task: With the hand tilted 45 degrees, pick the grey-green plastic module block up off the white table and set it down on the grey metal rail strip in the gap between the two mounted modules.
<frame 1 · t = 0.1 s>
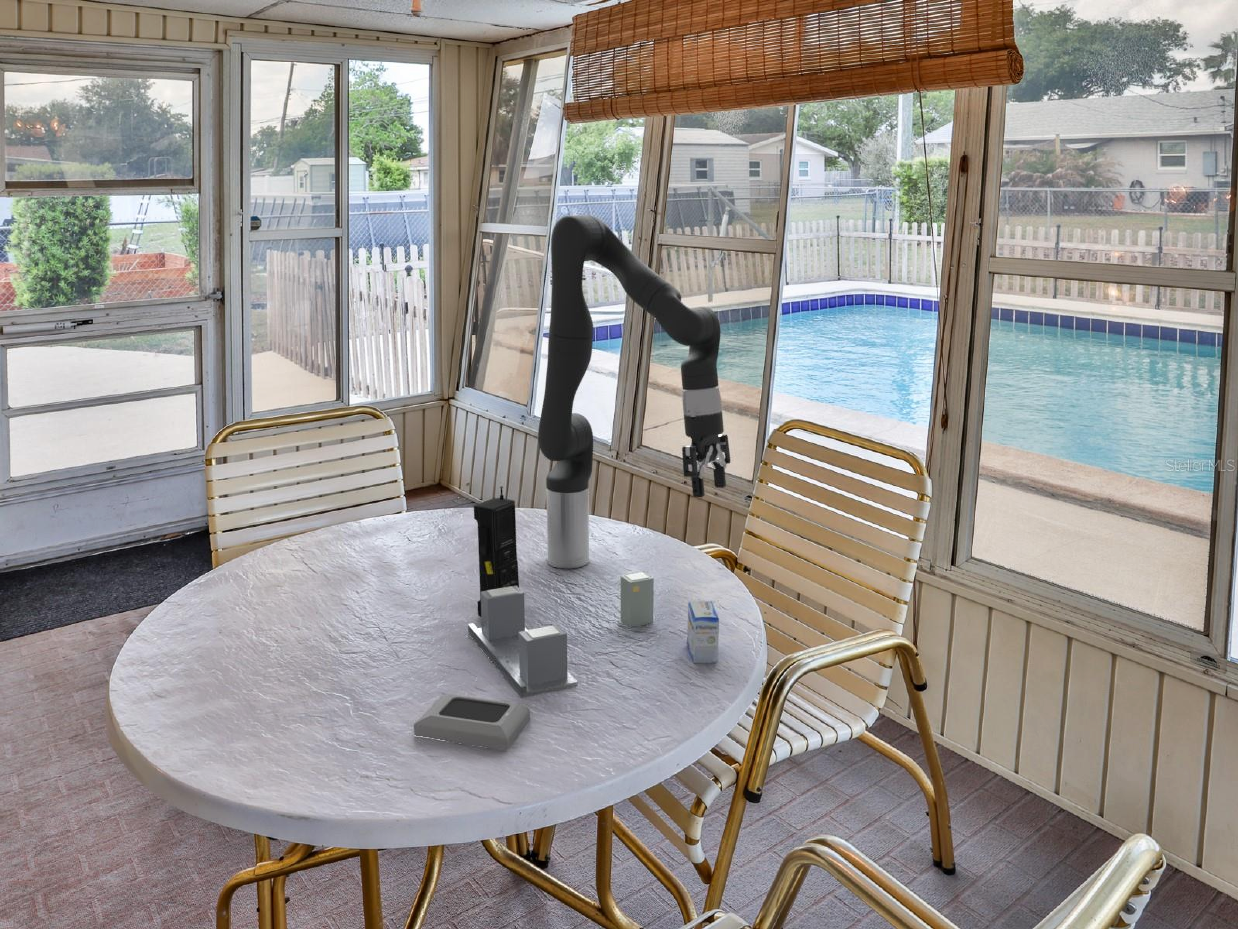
hand: (709, 492, 203), 22 cm above the table, tool pointing down, fingers open, 8 cm apart
mounted modules: (520, 658, 181), resting on rail
rail: (520, 658, 181), on the table
portable radio: (498, 616, 200), on the table
grey flat block: (473, 732, 158), on the table
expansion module: (636, 621, 197), on the table
medicine box: (702, 654, 183), on the table
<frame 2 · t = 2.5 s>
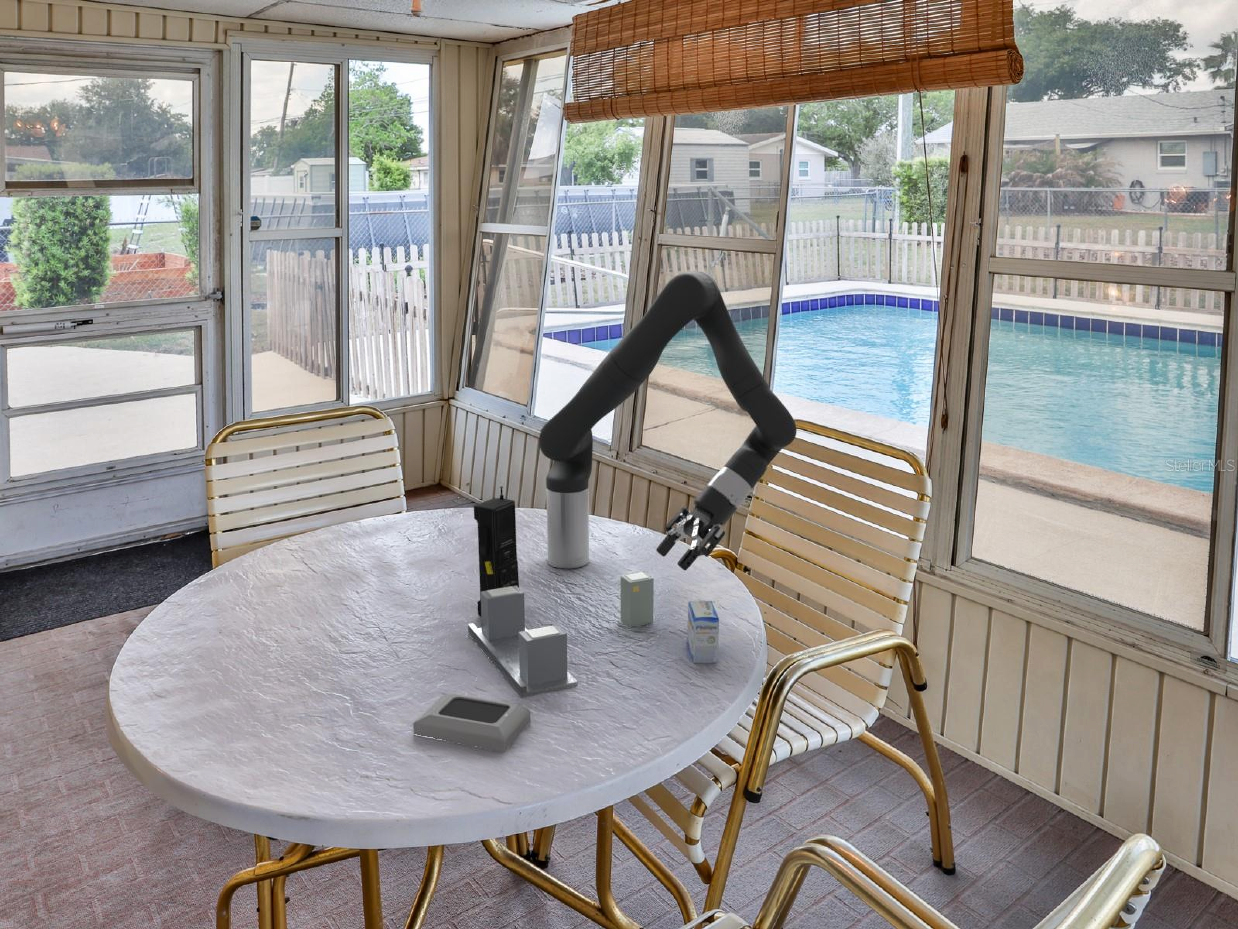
hand: (670, 560, 198), 11 cm above the table, tool tilted 45°, fingers open, 8 cm apart
nothing on the table moved.
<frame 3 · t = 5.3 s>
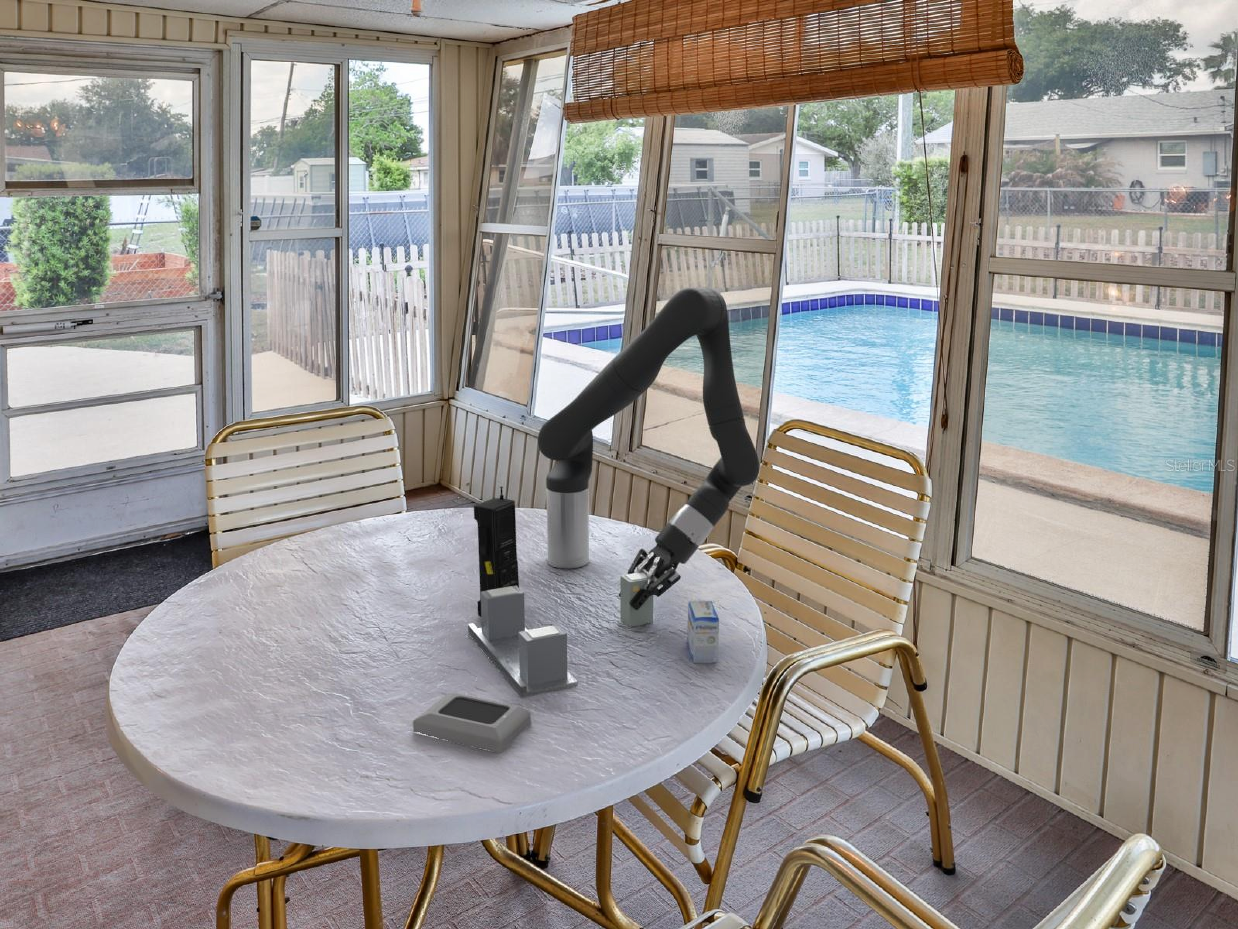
hand: (627, 602, 196), 4 cm above the table, tool tilted 45°, fingers closed on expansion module, 4 cm apart
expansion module: (636, 621, 197), on the table, touching gripper
everything else where it was.
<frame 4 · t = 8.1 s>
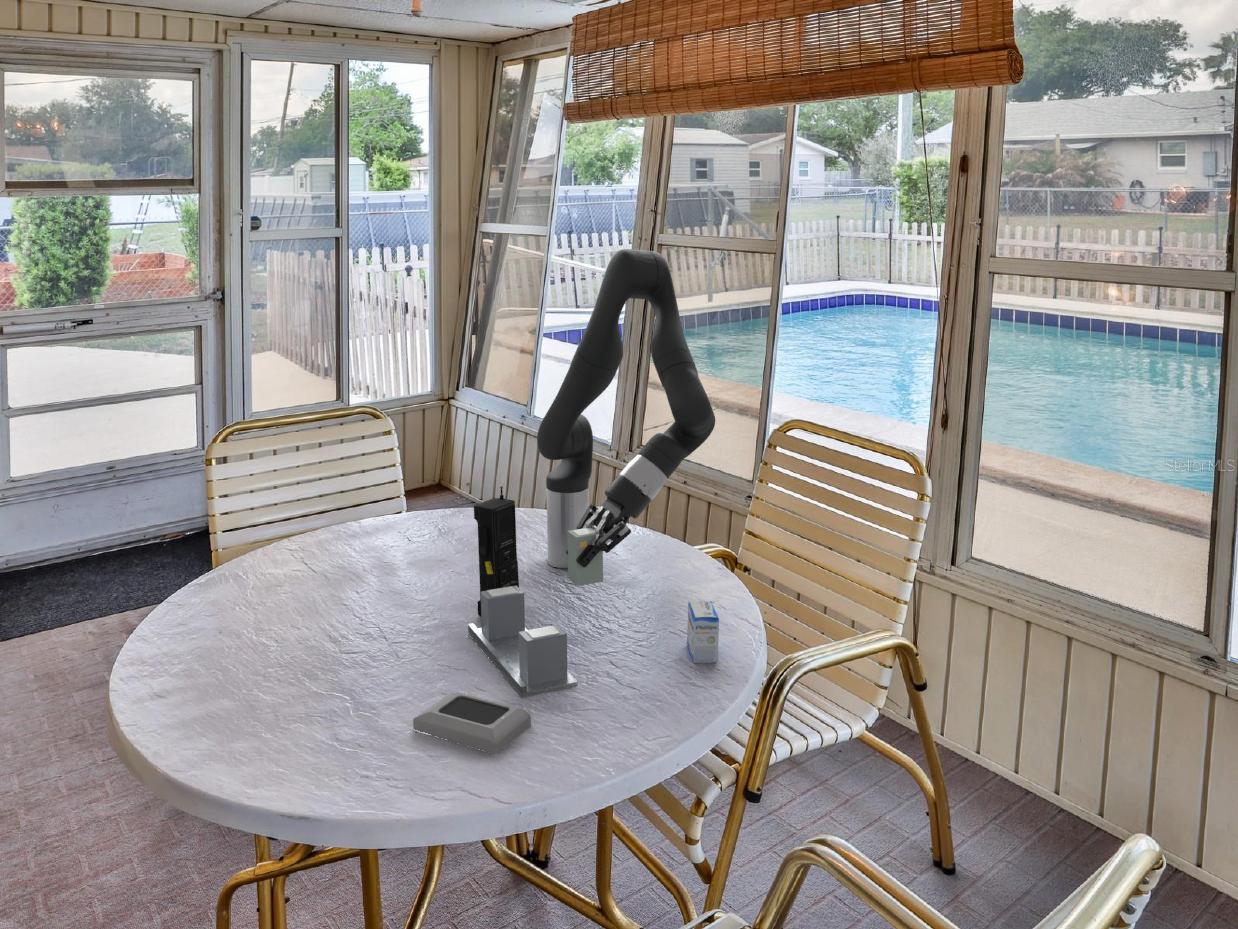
hand: (575, 560, 182), 17 cm above the table, tool tilted 45°, fingers closed on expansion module, 4 cm apart
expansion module: (585, 580, 183), point 13 cm above the table, touching gripper
everything else where it was.
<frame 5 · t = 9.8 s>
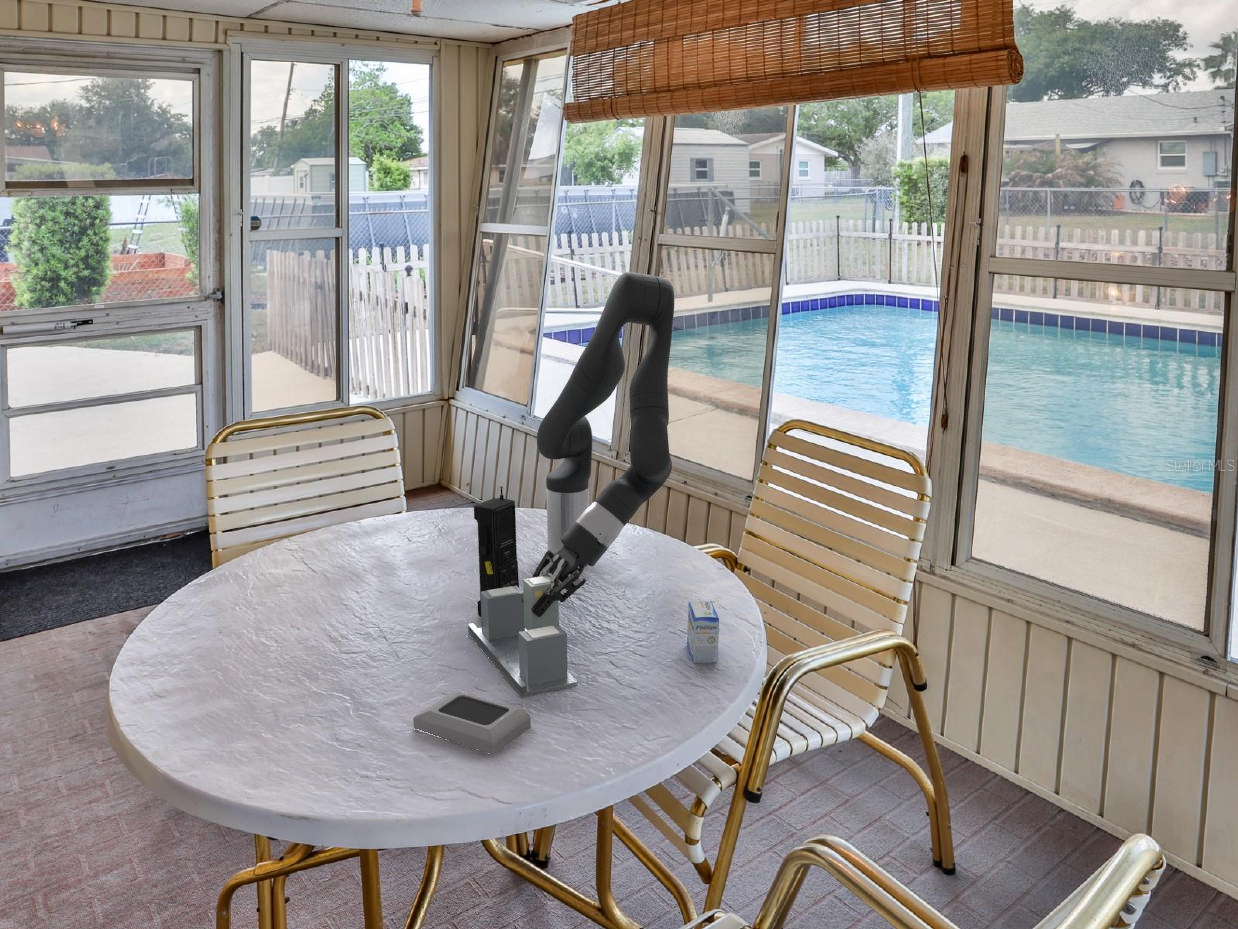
hand: (530, 609, 180), 9 cm above the table, tool tilted 45°, fingers closed on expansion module, 4 cm apart
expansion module: (541, 628, 182), point 5 cm above the table, touching gripper
when the fingers open (6 cm above the table, at t = 11.1 s): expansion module drops 1 cm, resting on rail.
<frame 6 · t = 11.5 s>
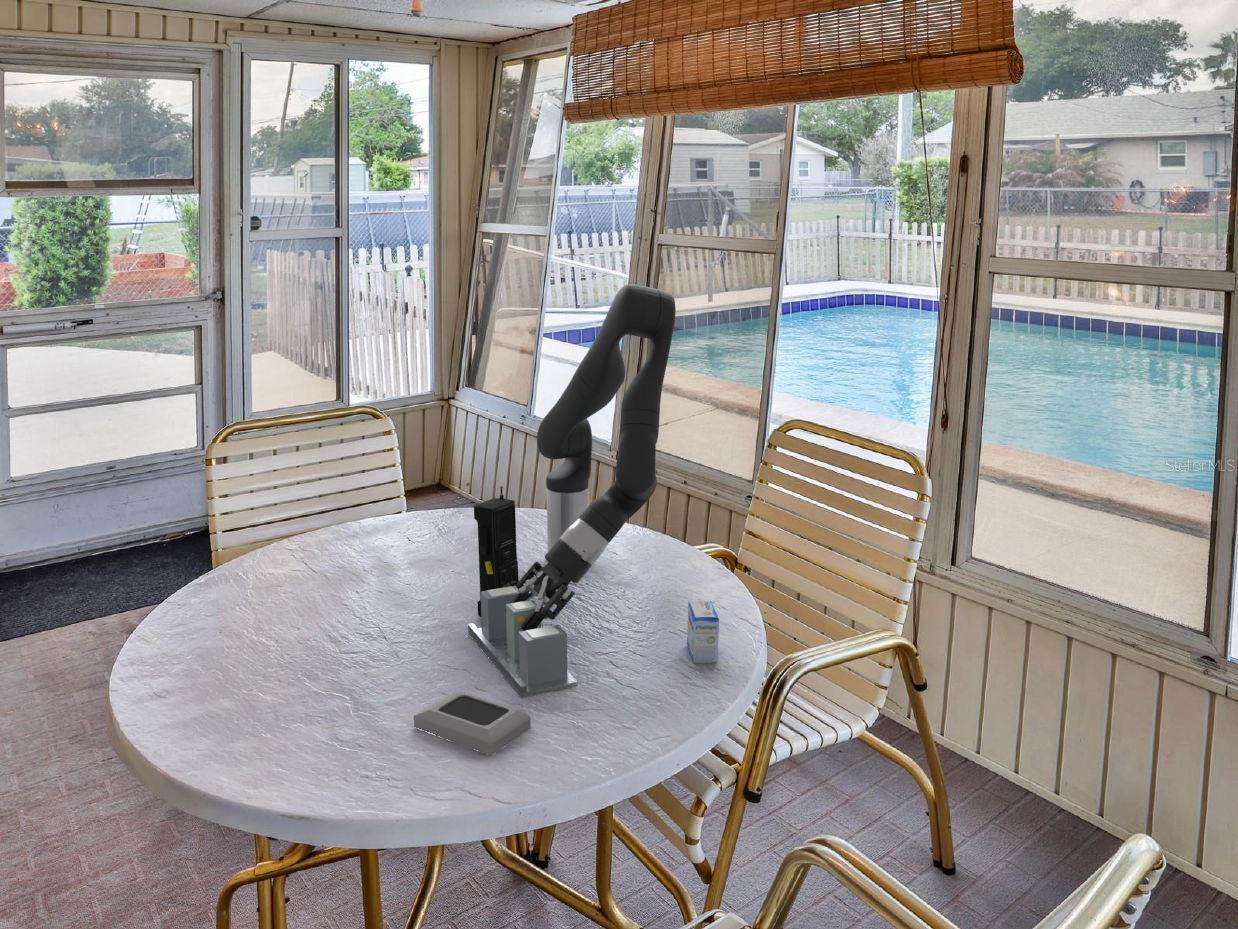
hand: (516, 622, 179), 7 cm above the table, tool tilted 45°, fingers open, 7 cm apart
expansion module: (524, 653, 181), point 1 cm above the table, touching rail
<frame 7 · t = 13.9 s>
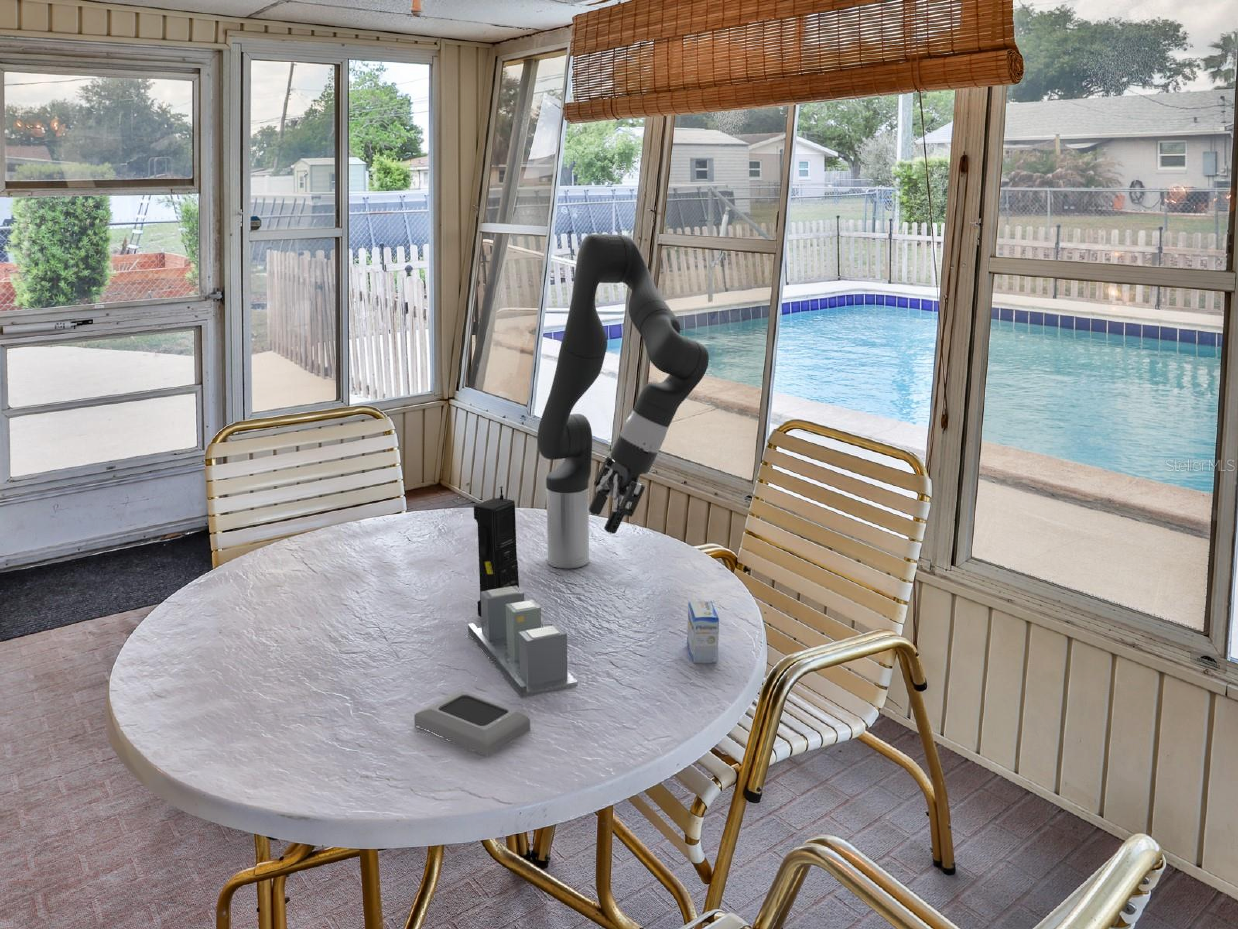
hand: (601, 522, 185), 22 cm above the table, tool tilted 25°, fingers open, 8 cm apart
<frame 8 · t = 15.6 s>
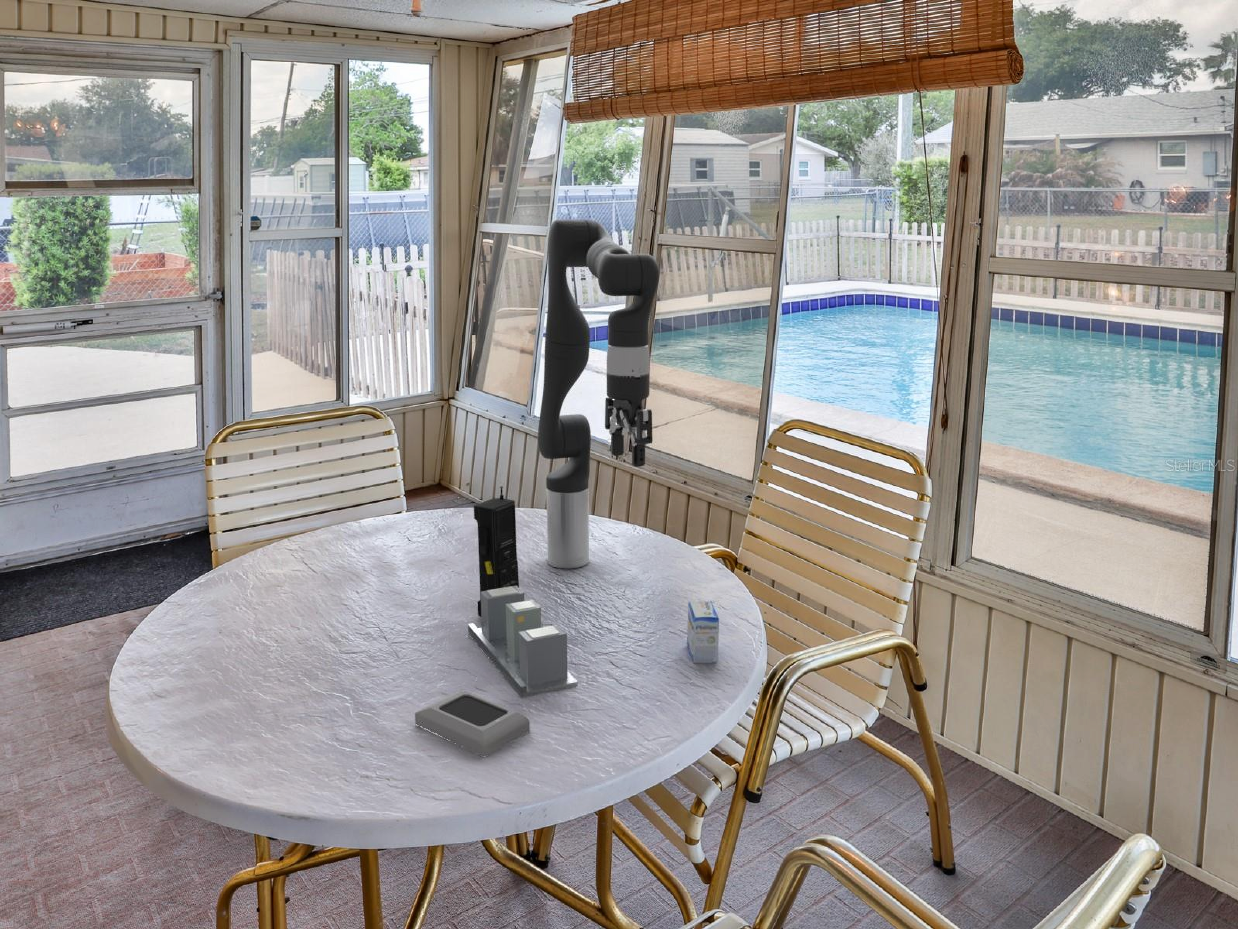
hand: (627, 460, 184), 33 cm above the table, tool pointing down, fingers open, 8 cm apart
at the end: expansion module inside the target area on the rail (0.1 cm from its centre), point 0.8 cm above the rail's base; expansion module tilted 0°; the gripper is holding nothing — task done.
